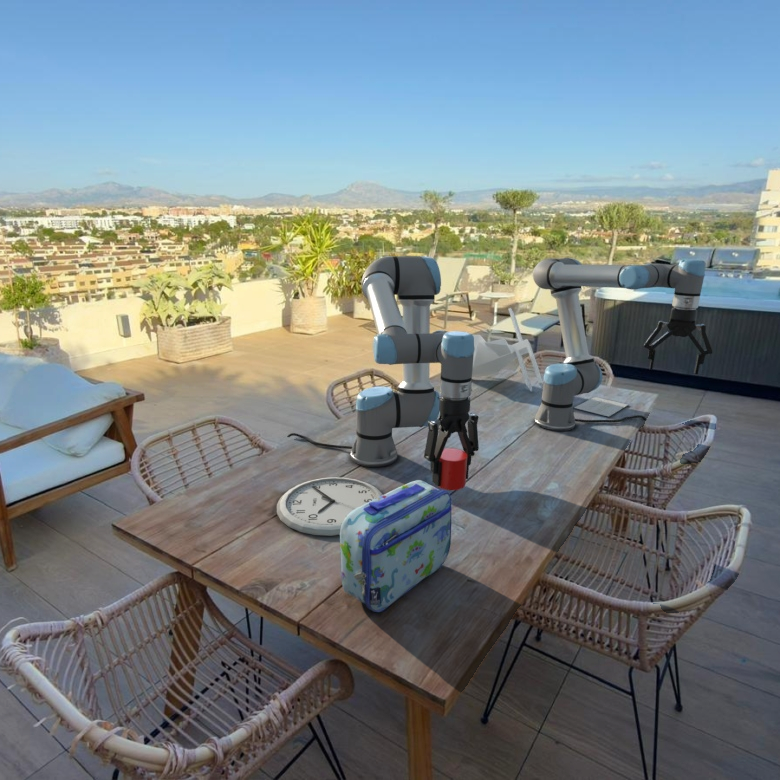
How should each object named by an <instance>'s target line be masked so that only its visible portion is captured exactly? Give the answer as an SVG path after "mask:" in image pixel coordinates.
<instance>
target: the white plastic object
mask: <svg viewBox="0 0 780 780" xmlns="http://www.w3.org/2000/svg"><path fill="white" fill-rule="evenodd" d="M507 310H508V313H509V315H510V319H511V322H512V325H513V329H514V331H515V335H516V338H517V341H518V342H515V343H513V344H509V343H508V341H507V340H506V338H504V337H503V338H499V339H495V340H494V339H493V340H491V341H487V340H485V338H484V337H483V336H482V335H481V334H472V335H473V337H474V348H475V350H474V356H473V369H472V378H480V377H489V378H491V377H494V376H497V375H500V373H499V372H500V371H502V370H504V369H505V368H506V367H507V366H509V365H510V364H511V363H513V362H514V361H516V360H517V361H518V363H519V367H520V370H521V373H522V376H523V380H524V383H525V385H526V387H527V388H528V389H529V391H530V392H531V393H533V386H532V383H531V380H530V377H529V374H528V371H527V368H526V364H525V362H524V361H525V360H524V357H523V355H527V354H528V355H529V359H530V361H531V364H532V368H533V371H534V374H535V376H536V379H537V382H538V385H539V386H540V388H541V389H543V382H544V379H543V376H542V375H541V371H540V368H539V366H538V363H537V359H536V356H535V354H534V353H535V352H534V350H533V347H532V344H531V342H530V341H529V339H528V338H525V339H523V336H522V333H521V329H520V325H519V323H518V321H517V317H516V315H515V312H514V310H513V309H512V307H508V309H507Z"/></svg>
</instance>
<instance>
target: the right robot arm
mask: <svg viewBox="0 0 780 780" xmlns="http://www.w3.org/2000/svg"><path fill="white" fill-rule="evenodd" d="M706 266H707V264H706V261H705V260H704V259H703V260H702V259H690V258H689V259H686V258H683V259H680V261H679V263H678V264H666V263H658V262H653V263H651V262H650V263H645V264H582V263H581V262H580V261H579V260H577V259H576V258H571V257H562V258H546V259H543V260H541V261H539V262H538V263H537V264H536V265H535V266H534V268H533V271H532V279H533V281H534V284H535V285H536V286H537V287H539V288H540V289H543V290H550V296H551V297H552V298H553V299H555V301H556V308H557V313H558V319H559V325H560V331H561V337H562V342H563V343H562V344H563V347H564V354H565V359H564V360H563V362H562V363H554V364H553V363H552V364H550V365H548V366H547V367H546V368H545V370H544V375H543V388H542V394H541V402H540V405H539V407H538V410H537V411H536V413H535V416H534V424H535V425H536V426H537V427H539V428H542V429H544V430H549V431H556V432H567V431H572V430H574V429H575V428H576V422H579V423H620V422H624V421H626V420H632V419H638V418H639V419H643V420H644V421H647V420H648V419H647V417H645V416H644V415H639V414H638V415H637V414H635V415H631V416H624V417H622V418H619V419H581V418H575V417H576V416H575V413H574V407H573V405H574V398H575V397H576V396H580V395H583V394H590V393H591V392H593V391H595V390H597V389H598V388H599V387H600V386H601V384H602V381H603V371H602V368H601V367H600V366H599V365H598V364H597V363H595V359H594V357H593V356H592V355H591V354H590V353H589V348H588V343H587V337H586V330H585V324H584V317H583V313H582V307H581V302H580V295H579V294H580V293H581V291H582V287H587V288H588V287H589V288H590V287H591V288H614V289H627V290H640V289H641V290H642V289H650V288H651V289H652V288H665V289H666V288H667V289H674V292H673V293H674V294H673V299H672V304H671V306H672V308H671V309H670V315H669V320H668V321H667V322H666V321H663V320H659V321H658V323H657V326H656V328H655V329H654V330H653V331H652V333H651V334H650V335H649V337H648V338H647V339H646V340H645V342H644V343H643V348H645V349H647V350H648V353H647V354H648V355H647V359H648V360H650V363H649V370H653V368H654V362H655V356H656V348H657V347H658V346H660V345H661V344H662V343H663V342H665V341H666V340H667V339H668V338H670V337H671V336H674V337H682V338H687V337H689V339H690V340H691V341H692V343H693V344H694V346H695V347H696V348H697V349H698V352H699V353H697V356H696V361H695V364H694V365H695V366H694V371H693V374H694V375H698V374H699V369H700V365H704V363H705V359H706V355H711V354H713V349H712V346H711V343H710V341H709V337H708V335H707V331H706V330H707V329H706V328H707V326H706V325H705V324H704V323H701V324H696V321H697V316H698V310H697V309H698V308H699V304H700V299H701V294H702V290H703V289H702V288H703V284H704V281H705V280H704V279H705V276H706ZM665 327H667V329H668V330H667V331H666V332H665V333H664V334H663V335H661V336H660V337H659V338H657V339H656V340H655V338H656V337H657V335H658V334H659V333H661V330H662V329H664V328H665ZM696 329H697V331H698V332H700V335H701V337H702V340H703V343H704V346H705V349H704V348H703V347H702V345H701V344H700V343H699V341H698V340H697V338H696V337H695V336H694V334H693V332H694V331H695V330H696ZM654 340H655V341H654ZM653 341H654V342H653ZM652 342H653V343H652Z"/></svg>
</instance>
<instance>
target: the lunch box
mask: <svg viewBox="0 0 780 780" xmlns="http://www.w3.org/2000/svg"><path fill="white" fill-rule="evenodd" d="M383 494H384V495H382V496H380V497H378V498H376V499H374V500H372V501H370V502H368V503H366V504H364V505H362V506H360V507H358V508H356V509H354V510H353V511H351V512H350V513H349V514H348V515H347V516H346V518H345V519H344V521H343V523H342V526H341V530H340V535H339V551H340V574H341V576H340V577H341V585H342V588H343V589H342V590H343V591H344V593H346V594H348V595H350V596H352V597H353V598H355V599H357V600H358V601H359V602H361V603H362V604H364V605H365V606H366V608H367V609H369V610H370V611H371V612H374V613H381V612H384V611H385V610H386V609H387V608H389V607H390V606H391V605H392V604H393V603H395V602H396V601H397V600H399V599H400V598H401V597H402V596H404V595H405V594H407V593H408V592H410V591H411V590H412V589H413V588H415V587H416V586H417V585H418V584H419V583H420V582H421V581H423V580H425V579H426V578H427V577H429V576H430V575H432V574H434V573H435V572H436V571H438V570H439V569H440V568H441V567H442V566H443V565H444V563H445V562H446V560H447V558H448V556H449V553H450V550H451V549H450V548H451V545H452V543H451V542H452V497H451V494H450V492H449V490H445V489H438V488H437V487H435V486H434V485H431V484H429V483H427V482H426V481H424V480H421V479H416V480H413V481H410V482H408V483H405V484H403V485H401V486H399V487H397V488H394V489H393V490H390V491H388V492H387V493H383Z"/></svg>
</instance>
